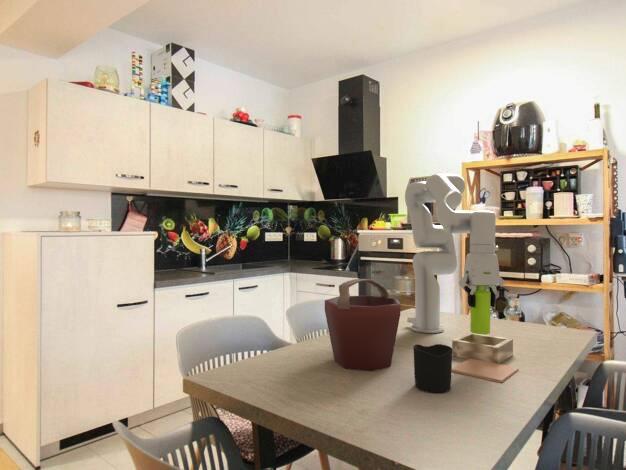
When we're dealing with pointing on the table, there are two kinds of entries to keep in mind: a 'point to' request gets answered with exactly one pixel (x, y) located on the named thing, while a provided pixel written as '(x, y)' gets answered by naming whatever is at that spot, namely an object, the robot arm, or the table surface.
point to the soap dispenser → (481, 311)
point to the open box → (482, 347)
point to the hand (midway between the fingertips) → (481, 305)
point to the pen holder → (433, 368)
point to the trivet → (485, 370)
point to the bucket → (362, 327)
